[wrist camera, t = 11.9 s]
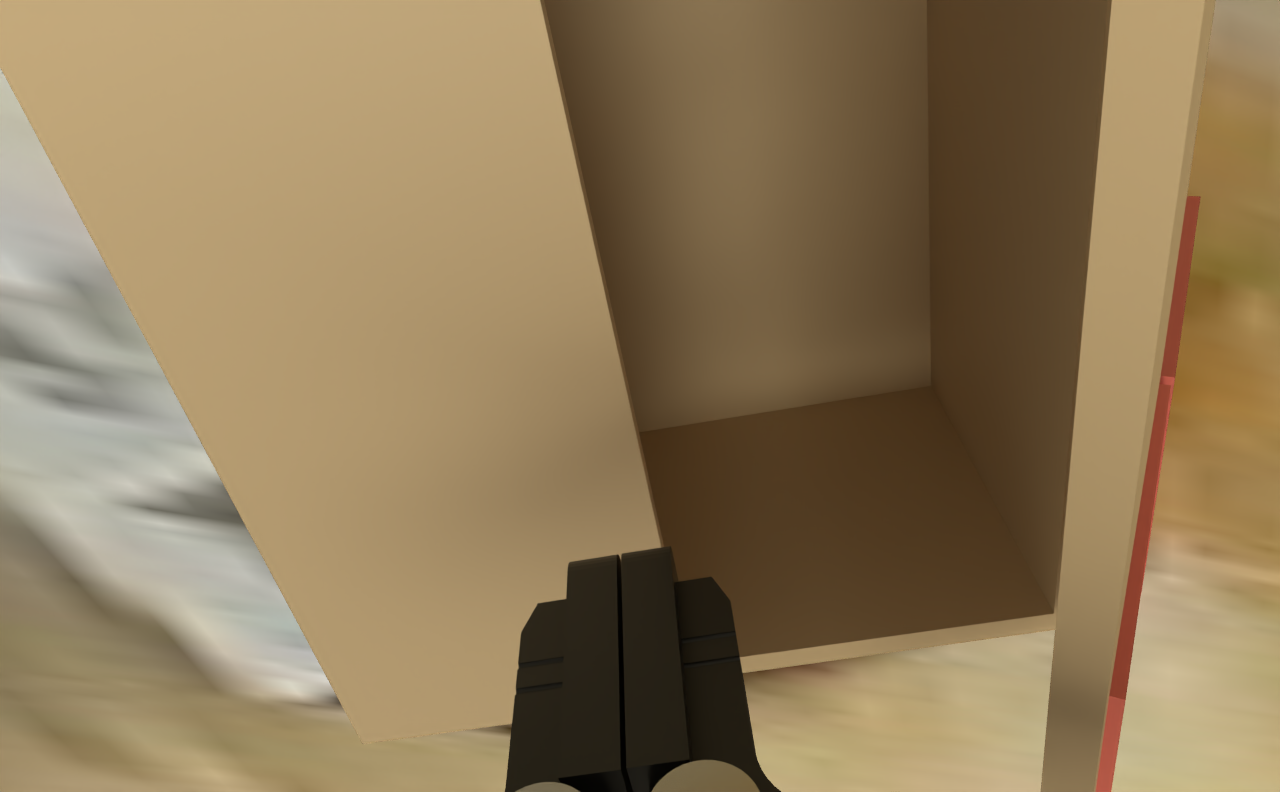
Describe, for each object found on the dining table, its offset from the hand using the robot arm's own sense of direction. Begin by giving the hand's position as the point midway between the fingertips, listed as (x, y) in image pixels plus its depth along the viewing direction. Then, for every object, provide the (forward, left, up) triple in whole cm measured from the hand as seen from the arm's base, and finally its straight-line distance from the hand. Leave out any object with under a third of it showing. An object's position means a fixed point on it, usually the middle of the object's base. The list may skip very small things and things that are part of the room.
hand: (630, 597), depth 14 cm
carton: (0, 0, -18) cm, 18 cm away
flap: (+10, 0, -6) cm, 12 cm away
